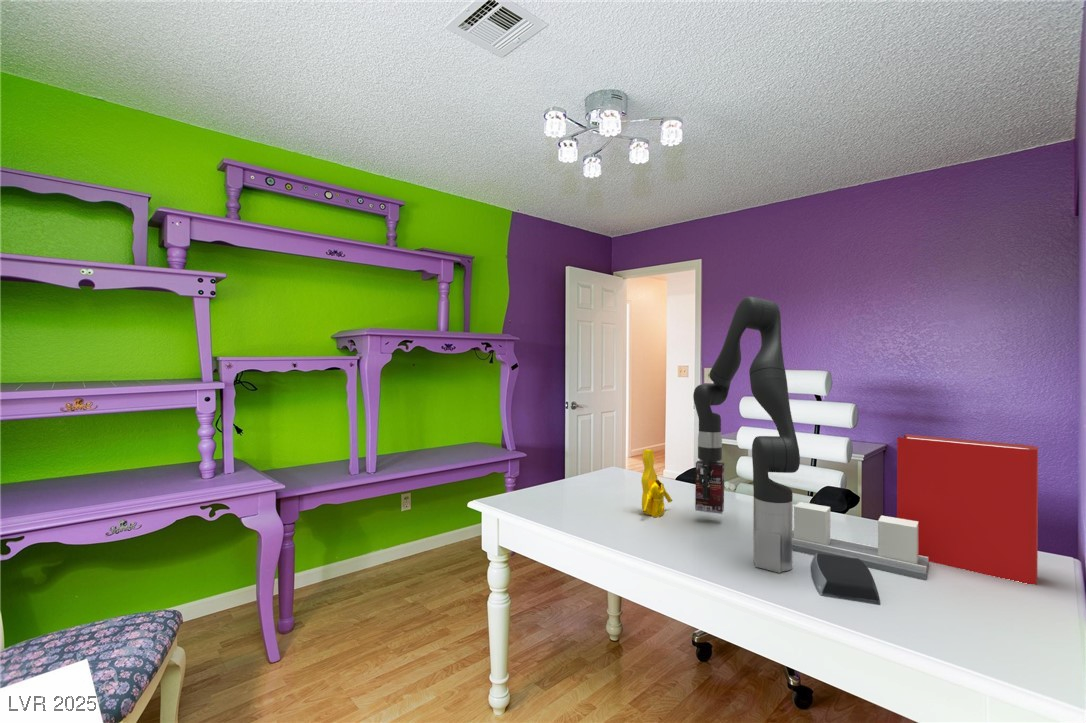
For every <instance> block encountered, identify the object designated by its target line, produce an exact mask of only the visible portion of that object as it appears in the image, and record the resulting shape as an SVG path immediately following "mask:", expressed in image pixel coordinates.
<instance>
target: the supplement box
mask: <svg viewBox="0 0 1086 723" xmlns="http://www.w3.org/2000/svg"><path fill="white" fill-rule="evenodd" d="M702 464H703V461H702V460H700V459H699V460H697V461H696V462H695V493H694V494H695V497H694V498H695V499H694V500H695V503H694V506H695V511H696V512H704V513H712V514H719V515H723V513H724V511H725V462H720V461H717V462H714V463H712V464H711V471H712V470H713V472H712V477H713V479H712V481H711V483H710V499H704V498H703V487H702V486H700V485H699V475H698V468H702ZM707 477H710V476H708V475H707ZM704 482H705V480H704Z"/></svg>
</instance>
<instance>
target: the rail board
mask: <svg viewBox="0 0 1086 723" xmlns="http://www.w3.org/2000/svg"><path fill="white" fill-rule="evenodd" d="M877 525H878V526H877V546H875V545H869V544H866V543H865V544H864V543H859V542H855V541H850V540H845V539H840V538H837V537H835V538H834V537H831V506H827V505H819V504H815V503H810V502H807V503H806V502H802V501H799V502H797V503H796V504H795V505H794V506H793V526H794V527H793V529H792V551H793V550H795V551H794V552H798V551H799V552H798V553H802V552H804V553H803V554H807V553H808V554H807V555H811V554H813V555H812V556H815V554H816V553H819V554H826V555H833V556H841V557H849V558H858V559H860V560H861V561H862V562H863V563H864V564H865V565H866V566H867V568H868V569H869V568H870V569H874V570H879V571H883V572H888V573H893V574H897V575H902V576H904V577H910V578H915V579H920V580H924V581H926V580H927V577H928V576H927V575H928V569H929V563H930V562H929V559H928V557H925V556H920V555H918V521H912V520H906V519H900V518H897V517H893V516H886V515H880V517H879V518H878V520H877Z"/></svg>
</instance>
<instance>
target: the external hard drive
mask: <svg viewBox="0 0 1086 723" xmlns="http://www.w3.org/2000/svg"><path fill="white" fill-rule="evenodd" d="M810 576H811V579H812V582H813V585H814V587H815V589H816V591H817V593H818V594H819V596H823V597H826V598H827V597H828V598H835V599H841V600H846V601H852V602H859V603H866V604H873V605H879V606H880V605H881V600H880V599H881V598H880V594H879V591H878V588H877V585H876V582H875V578H874V577H873V574H872V573H871V571H870V569H869V567H867V566H866V565H865V564H864V563H863V562H862V561H861V560H860V559H858V558H849V557H841V556H833V555H826V554H819V553H816V554H815V555H813V558H812V560H811V562H810Z"/></svg>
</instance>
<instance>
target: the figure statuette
mask: <svg viewBox="0 0 1086 723" xmlns="http://www.w3.org/2000/svg"><path fill="white" fill-rule="evenodd" d="M642 463H643V466H644V469H643V472H642V475H641V487H642V495H641V496H642V497H641V509H642V513H643V514H644V515H649V516H652V517H653V518H661V516H662V517H663V515H664V514H665V501H664V498H665V499H666V501H667V503H672V502H673V499H672V497H671V495H670V494H669V493H668V492H667V490H666V488H665V486H664V485H665V484H664V483H663V482H662V481H660V479H659V478H658V475H657V472H656V471H655V468H654V464H655V454H654V450H653V449H647V448H646V449H643V451H642Z"/></svg>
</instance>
